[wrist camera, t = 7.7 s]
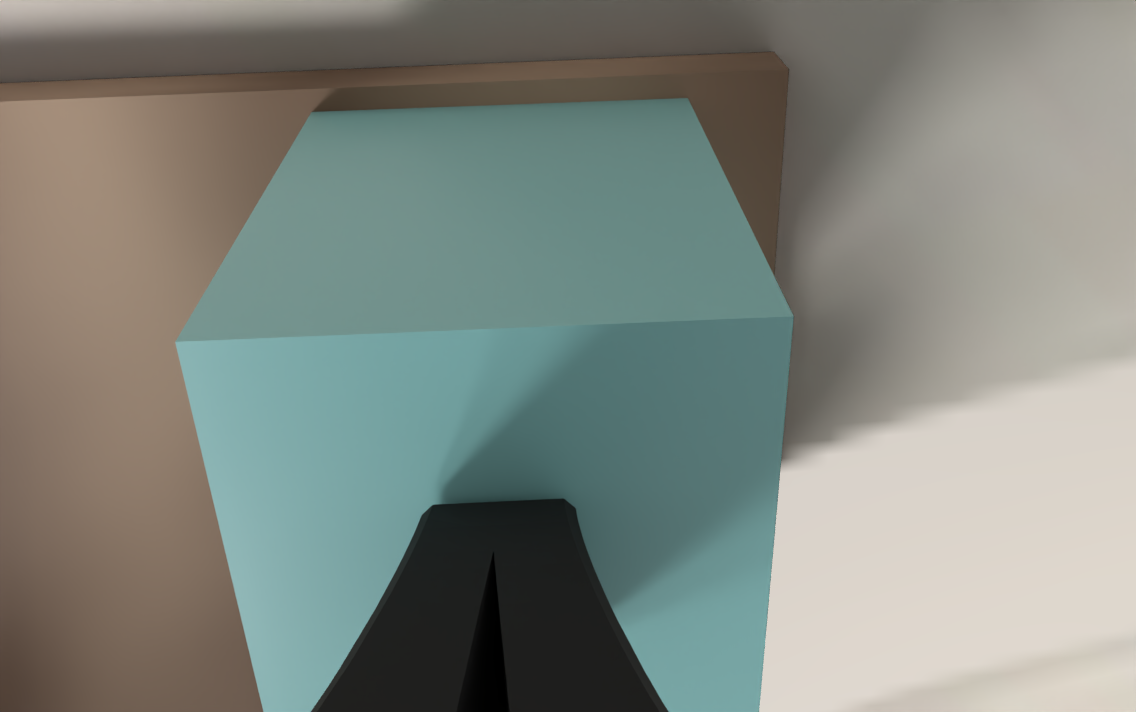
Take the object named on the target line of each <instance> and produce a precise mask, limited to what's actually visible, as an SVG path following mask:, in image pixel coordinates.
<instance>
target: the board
mask: <svg viewBox="0 0 1136 712" xmlns="http://www.w3.org/2000/svg"><path fill="white" fill-rule="evenodd" d="M788 75H789V69H788V68H787V67H786V65H785V64H784V63H783V62H782V61H781V60H780V58H779V57H778V56H777V55H776V54H775V53H774V52H757V53H732V54H708V55H683V56H658V57H634V58H609V59H585V60H560V61H535V62H511V63H486V64H462V65H437V66H412V67H388V68H363V69H339V70H314V71H289V72H265V73H240V74H216V75H191V76H166V77H142V78H117V79H93V80H68V81H43V82H19V83H0V712H263V708H262V704H261V699H260V695H259V691H258V687H257V683H256V678H255V674H254V670H253V666H252V662H251V657H250V653H249V649H248V645H247V641H246V637H245V632H244V628H243V624H242V620H241V616H240V611H239V607H238V603H237V599H236V595H235V590H234V586H233V582H232V578H231V574H230V570H229V565H228V561H227V557H226V553H225V549H224V544H223V540H222V536H221V532H220V528H219V523H218V519H217V515H216V511H215V507H214V503H213V498H212V494H211V490H210V486H209V482H208V477H207V473H206V469H205V465H204V461H203V456H202V452H201V448H200V444H199V440H198V436H197V431H196V427H195V423H194V419H193V415H192V410H191V406H190V402H189V398H188V394H187V389H186V385H185V381H184V377H183V373H182V369H181V364H180V360H179V356H178V352H177V348H176V343H175V341H176V340H177V338H178V336H179V335H180V333H181V331H182V329H183V328H184V326H185V324H186V323H187V321H188V319H189V318H190V316H191V314H192V313H193V311H194V309H195V308H196V306H197V304H198V303H199V301H200V299H201V297H202V296H203V294H204V292H205V291H206V289H207V287H208V286H209V284H210V282H211V281H212V279H213V277H214V276H215V274H216V272H217V270H218V269H219V267H220V265H221V264H222V262H223V260H224V259H225V257H226V255H227V254H228V252H229V250H230V249H231V247H232V245H233V244H234V242H235V240H236V238H237V237H238V235H239V233H240V232H241V230H242V228H243V227H244V225H245V223H246V222H247V220H248V218H249V217H250V215H251V213H252V212H253V210H254V208H255V206H256V205H257V203H258V201H259V200H260V198H261V196H262V195H263V193H264V191H265V190H266V188H267V186H268V185H269V183H270V181H271V180H272V178H273V176H274V174H275V173H276V171H277V169H278V168H279V166H280V164H281V163H282V161H283V159H284V158H285V156H286V154H287V153H288V151H289V149H290V148H291V146H292V144H293V142H294V141H295V139H296V137H297V136H298V134H299V132H300V131H301V129H302V127H303V126H304V124H305V122H306V121H307V119H308V117H309V115H310V114H311V112H324V111H351V110H378V109H405V108H432V107H459V106H486V105H513V104H540V103H567V102H593V101H620V100H647V99H674V98H688V100H689V102H690V104H691V106H692V108H693V110H694V112H695V114H696V116H697V118H698V120H699V122H700V124H701V126H702V128H703V130H704V132H705V135H706V137H707V139H708V141H709V143H710V145H711V147H712V149H713V151H714V153H715V155H716V157H717V159H718V161H719V163H720V165H721V168H722V170H723V172H724V174H725V176H726V178H727V180H728V182H729V184H730V186H731V188H732V190H733V192H734V194H735V196H736V198H737V200H738V203H739V205H740V207H741V209H742V211H743V213H744V215H745V217H746V219H747V221H748V223H749V225H750V227H751V229H752V231H753V233H754V236H755V238H756V240H757V242H758V244H759V246H760V248H761V250H762V252H763V254H764V256H765V258H766V260H767V262H768V264H769V266H770V268H771V271H772V273H773V275H774V271H775V257H776V243H777V229H778V215H779V201H780V187H781V173H782V159H783V145H784V131H785V117H786V103H787V89H788Z"/></svg>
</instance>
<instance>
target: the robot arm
mask: <svg viewBox="0 0 1136 712" xmlns="http://www.w3.org/2000/svg"><path fill="white" fill-rule="evenodd" d="M311 712H669V711H668V710H667V708H666V707H665V705H664V703H663V702H662V700H661V698H660V697H659V695H658V693H657V692H656V690H655V688H654V686H653V685H652V683H651V681H650V679H649V678H648V676H647V674H646V673H645V671H644V669H643V667H642V665H641V663H640V661H639V660H638V658H637V656H636V654H635V652H634V650H633V648H632V646H631V644H630V643H629V641H628V639H627V637H626V635H625V633H624V631H623V629H622V628H621V626H620V624H619V622H618V620H617V618H616V616H615V614H614V612H613V610H612V608H611V605H610V603H609V601H608V599H607V597H606V595H605V592H604V590H603V588H602V586H601V583H600V581H599V579H598V576H597V574H596V572H595V569H594V567H593V564H592V562H591V559H590V557H589V554H588V551H587V548H586V546H585V543H584V540H583V537H582V533H581V529H580V526H579V522H578V518H577V512H576V508H575V507H574V506H573V505H571V504H570V503H569V502H568V501H566V500H565V499H564V498H562V499H540V500H519V501H498V502H477V503H456V504H435V505H432V506H431V507H430V508H429V509H428V510H427V511H426V512H424V513H423V514H422V516H421V518H420V520H419V523H418V525H417V528H416V530H415V532H414V535H413V537H412V539H411V541H410V543H409V545H408V548H407V550H406V552H405V554H404V556H403V558H402V560H401V562H400V564H399V566H398V568H397V570H396V572H395V574H394V576H393V577H392V579H391V581H390V583H389V585H388V587H387V588H386V590H385V592H384V594H383V596H382V598H381V599H380V601H379V603H378V605H377V607H376V609H375V610H374V612H373V614H372V615H371V617H370V619H369V620H368V622H367V624H366V625H365V627H364V629H363V630H362V632H361V634H360V635H359V637H358V639H357V640H356V642H355V644H354V645H353V647H352V649H351V650H350V652H349V654H348V655H347V657H346V659H345V660H344V662H343V664H342V665H341V667H340V669H339V670H338V672H337V673H336V675H335V676H334V678H333V680H332V681H331V683H330V684H329V686H328V687H327V689H326V690H325V692H324V693H323V695H322V696H321V697H320V699H319V700H318V702H317V703H316V705H315V706H314V708H313V709H312V711H311Z"/></svg>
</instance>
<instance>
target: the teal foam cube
mask: <svg viewBox="0 0 1136 712" xmlns="http://www.w3.org/2000/svg"><path fill="white" fill-rule="evenodd" d="M793 319H794V316H793V314H792V312H791V310H790V308H789V306H788V304H787V301H786V299H785V297H784V295H783V293H782V291H781V289H780V287H779V285H778V283H777V281H776V279H775V277H774V275H773V273H772V271H771V268H770V266H769V264H768V262H767V260H766V258H765V256H764V254H763V252H762V250H761V248H760V246H759V244H758V242H757V240H756V238H755V236H754V233H753V231H752V229H751V227H750V225H749V223H748V221H747V219H746V217H745V215H744V213H743V211H742V209H741V207H740V205H739V203H738V200H737V198H736V196H735V194H734V192H733V190H732V188H731V186H730V184H729V182H728V180H727V178H726V176H725V174H724V172H723V170H722V168H721V165H720V163H719V161H718V159H717V157H716V155H715V153H714V151H713V149H712V147H711V145H710V143H709V141H708V139H707V137H706V135H705V132H704V130H703V128H702V126H701V124H700V122H699V120H698V118H697V116H696V114H695V112H694V110H693V108H692V106H691V104H690V102H689V100H688V98H674V99H647V100H620V101H593V102H567V103H540V104H513V105H486V106H459V107H432V108H405V109H378V110H351V111H324V112H311V114H310V115H309V117H308V119H307V121H306V122H305V124H304V126H303V127H302V129H301V131H300V132H299V134H298V136H297V137H296V139H295V141H294V142H293V144H292V146H291V148H290V149H289V151H288V153H287V154H286V156H285V158H284V159H283V161H282V163H281V164H280V166H279V168H278V169H277V171H276V173H275V174H274V176H273V178H272V180H271V181H270V183H269V185H268V186H267V188H266V190H265V191H264V193H263V195H262V196H261V198H260V200H259V201H258V203H257V205H256V206H255V208H254V210H253V212H252V213H251V215H250V217H249V218H248V220H247V222H246V223H245V225H244V227H243V228H242V230H241V232H240V233H239V235H238V237H237V238H236V240H235V242H234V244H233V245H232V247H231V249H230V250H229V252H228V254H227V255H226V257H225V259H224V260H223V262H222V264H221V265H220V267H219V269H218V270H217V272H216V274H215V276H214V277H213V279H212V281H211V282H210V284H209V286H208V287H207V289H206V291H205V292H204V294H203V296H202V297H201V299H200V301H199V303H198V304H197V306H196V308H195V309H194V311H193V313H192V314H191V316H190V318H189V319H188V321H187V323H186V324H185V326H184V328H183V329H182V331H181V333H180V335H179V336H178V338H177V340H176V341H175V343H176V348H177V352H178V356H179V360H180V364H181V369H182V373H183V377H184V381H185V385H186V389H187V394H188V398H189V402H190V406H191V410H192V415H193V419H194V423H195V427H196V431H197V436H198V440H199V444H200V448H201V452H202V456H203V461H204V465H205V469H206V473H207V477H208V482H209V486H210V490H211V494H212V498H213V503H214V507H215V511H216V515H217V519H218V523H219V528H220V532H221V536H222V540H223V544H224V549H225V553H226V557H227V561H228V565H229V570H230V574H231V578H232V582H233V586H234V590H235V595H236V599H237V603H238V607H239V611H240V616H241V620H242V624H243V628H244V632H245V637H246V641H247V645H248V649H249V653H250V657H251V662H252V666H253V670H254V674H255V678H256V683H257V687H258V691H259V695H260V699H261V704H262V708H263V712H311V711H312V709H313V708H314V706H315V705H316V703H317V702H318V700H319V699H320V697H321V696H322V695H323V693H324V692H325V690H326V689H327V687H328V686H329V684H330V683H331V681H332V680H333V678H334V676H335V675H336V673H337V672H338V670H339V669H340V667H341V665H342V664H343V662H344V660H345V659H346V657H347V655H348V654H349V652H350V650H351V649H352V647H353V645H354V644H355V642H356V640H357V639H358V637H359V635H360V634H361V632H362V630H363V629H364V627H365V625H366V624H367V622H368V620H369V619H370V617H371V615H372V614H373V612H374V610H375V609H376V607H377V605H378V603H379V601H380V599H381V598H382V596H383V594H384V592H385V590H386V588H387V587H388V585H389V583H390V581H391V579H392V577H393V576H394V574H395V572H396V570H397V568H398V566H399V564H400V562H401V560H402V558H403V556H404V554H405V552H406V550H407V548H408V545H409V543H410V541H411V539H412V537H413V535H414V532H415V530H416V528H417V525H418V523H419V520H420V518H421V516H422V514H423V513H424V512H426V511H427V510H428V509H429V508H430V507H431V506H432V505H435V504H456V503H477V502H498V501H519V500H540V499H562V498H564V499H565V500H566V501H568V502H569V503H570V504H571V505H573V506H574V507H575V508H576V512H577V518H578V522H579V526H580V529H581V533H582V537H583V540H584V543H585V546H586V548H587V551H588V554H589V557H590V559H591V562H592V564H593V567H594V569H595V572H596V574H597V576H598V579H599V581H600V583H601V586H602V588H603V590H604V592H605V595H606V597H607V599H608V601H609V603H610V605H611V608H612V610H613V612H614V614H615V616H616V618H617V620H618V622H619V624H620V626H621V628H622V629H623V631H624V633H625V635H626V637H627V639H628V641H629V643H630V644H631V646H632V648H633V650H634V652H635V654H636V656H637V658H638V660H639V661H640V663H641V665H642V667H643V669H644V671H645V673H646V674H647V676H648V678H649V679H650V681H651V683H652V685H653V686H654V688H655V690H656V692H657V693H658V695H659V697H660V698H661V700H662V702H663V703H664V705H665V707H666V708H667V710H668V711H669V712H759V705H760V694H761V682H762V671H763V660H764V649H765V636H766V626H767V614H768V602H769V591H770V580H771V569H772V557H773V546H774V534H775V524H776V512H777V501H778V490H779V478H780V467H781V456H782V444H783V433H784V421H785V410H786V399H787V387H788V376H789V365H790V353H791V342H792V331H793Z"/></svg>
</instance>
